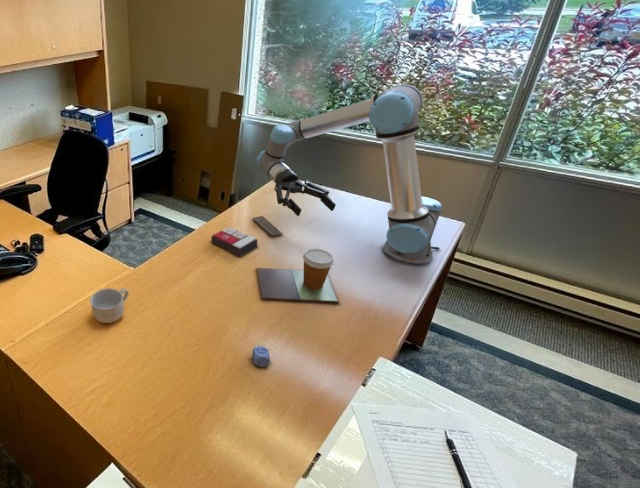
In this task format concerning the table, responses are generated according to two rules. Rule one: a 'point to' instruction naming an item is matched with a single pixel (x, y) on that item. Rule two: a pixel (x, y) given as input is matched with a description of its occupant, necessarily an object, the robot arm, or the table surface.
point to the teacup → (108, 304)
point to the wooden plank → (267, 226)
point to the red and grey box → (234, 241)
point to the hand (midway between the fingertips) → (316, 210)
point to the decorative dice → (261, 356)
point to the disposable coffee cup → (316, 268)
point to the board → (292, 287)
